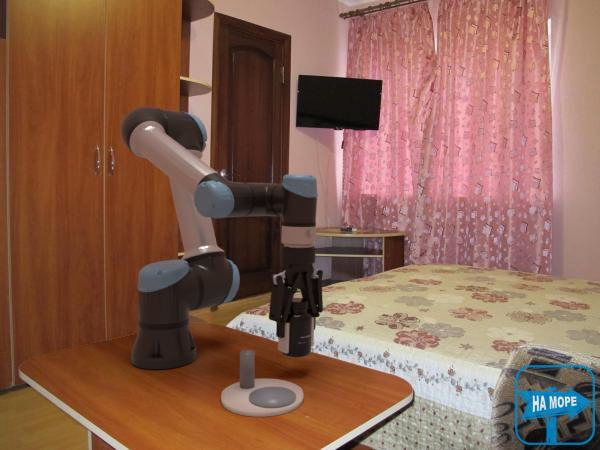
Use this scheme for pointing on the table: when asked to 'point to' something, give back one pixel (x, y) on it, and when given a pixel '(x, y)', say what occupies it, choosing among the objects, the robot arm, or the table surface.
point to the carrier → (260, 392)
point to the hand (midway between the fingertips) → (296, 347)
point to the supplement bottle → (299, 328)
